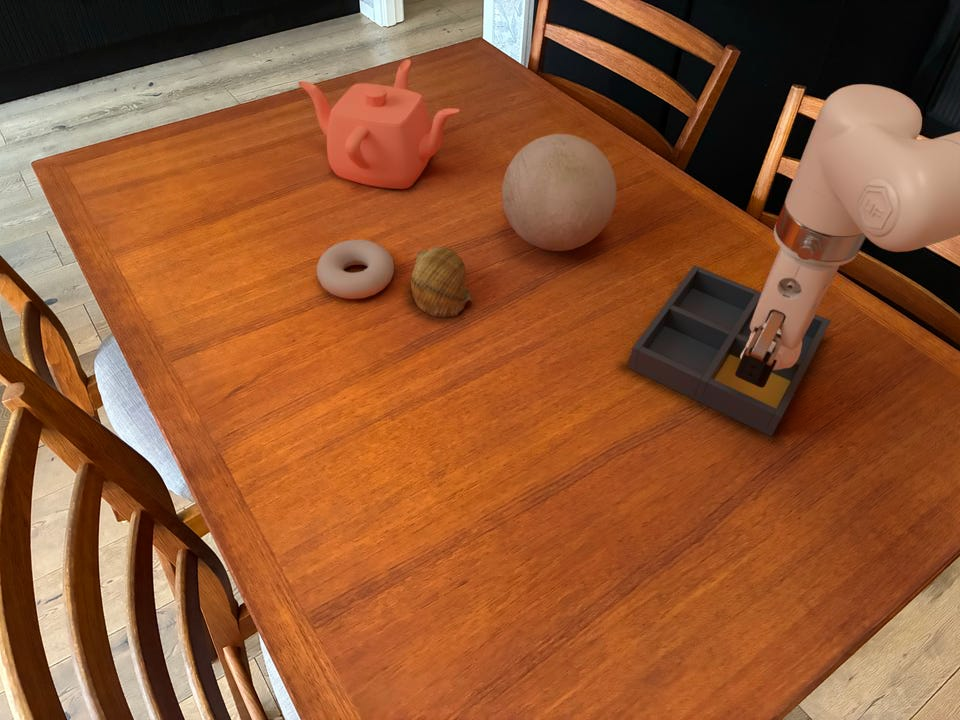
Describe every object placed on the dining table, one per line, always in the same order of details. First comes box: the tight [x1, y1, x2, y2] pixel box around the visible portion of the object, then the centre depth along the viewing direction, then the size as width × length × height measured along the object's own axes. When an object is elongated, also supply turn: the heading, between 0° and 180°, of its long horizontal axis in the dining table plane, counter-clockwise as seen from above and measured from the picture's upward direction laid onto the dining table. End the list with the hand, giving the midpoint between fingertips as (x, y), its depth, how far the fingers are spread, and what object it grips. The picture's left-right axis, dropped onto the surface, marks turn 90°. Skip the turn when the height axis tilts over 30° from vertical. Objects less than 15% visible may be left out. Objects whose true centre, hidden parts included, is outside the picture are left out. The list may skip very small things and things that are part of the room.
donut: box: [316, 238, 395, 300], centre depth 94 cm, size 10×4×10 cm
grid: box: [627, 264, 832, 437], centre depth 86 cm, size 17×17×4 cm
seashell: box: [410, 246, 473, 319], centre depth 92 cm, size 10×7×8 cm
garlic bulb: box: [740, 323, 802, 370], centre depth 77 cm, size 6×6×5 cm
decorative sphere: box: [501, 133, 618, 252], centre depth 96 cm, size 15×15×15 cm
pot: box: [297, 59, 460, 190], centre depth 108 cm, size 18×17×12 cm
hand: (762, 358), depth 79 cm, fingers closed on garlic bulb, 6 cm apart
